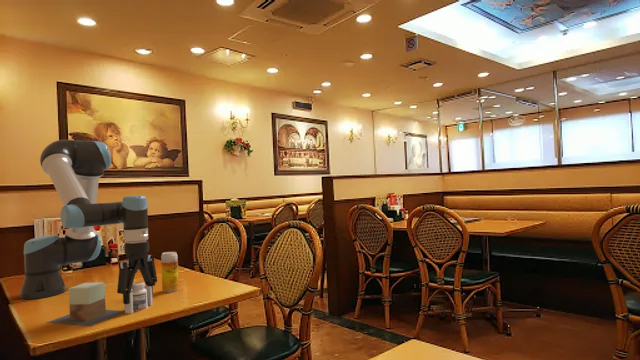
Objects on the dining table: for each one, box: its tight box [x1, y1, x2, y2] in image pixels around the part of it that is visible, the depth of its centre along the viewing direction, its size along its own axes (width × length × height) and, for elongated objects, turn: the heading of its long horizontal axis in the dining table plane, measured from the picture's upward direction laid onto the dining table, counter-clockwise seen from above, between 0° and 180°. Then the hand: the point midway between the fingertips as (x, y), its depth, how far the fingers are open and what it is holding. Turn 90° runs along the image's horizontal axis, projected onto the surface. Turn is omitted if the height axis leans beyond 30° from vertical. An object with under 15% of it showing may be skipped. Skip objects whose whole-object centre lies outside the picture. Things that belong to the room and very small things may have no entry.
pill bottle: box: [130, 281, 149, 312], centre depth 131 cm, size 5×5×9 cm
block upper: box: [68, 282, 106, 304], centre depth 125 cm, size 7×7×5 cm
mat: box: [46, 309, 126, 327], centre depth 125 cm, size 18×14×1 cm
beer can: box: [160, 251, 180, 293], centre depth 155 cm, size 6×6×15 cm
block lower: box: [68, 297, 107, 321], centre depth 125 cm, size 7×7×5 cm
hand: (139, 309), depth 131 cm, fingers open, 8 cm apart
